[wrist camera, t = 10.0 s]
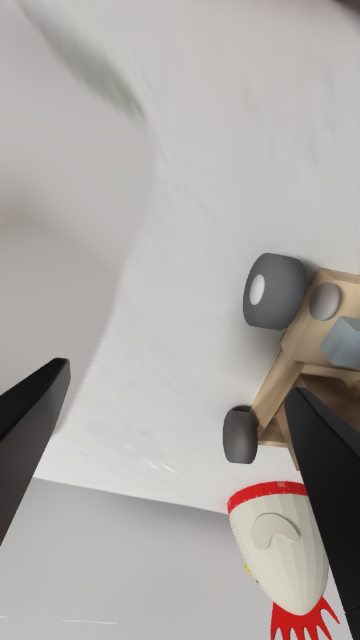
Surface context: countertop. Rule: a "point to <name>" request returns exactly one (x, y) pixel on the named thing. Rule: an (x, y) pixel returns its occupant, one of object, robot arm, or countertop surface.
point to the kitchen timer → (283, 554)
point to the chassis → (303, 361)
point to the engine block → (331, 395)
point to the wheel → (274, 291)
